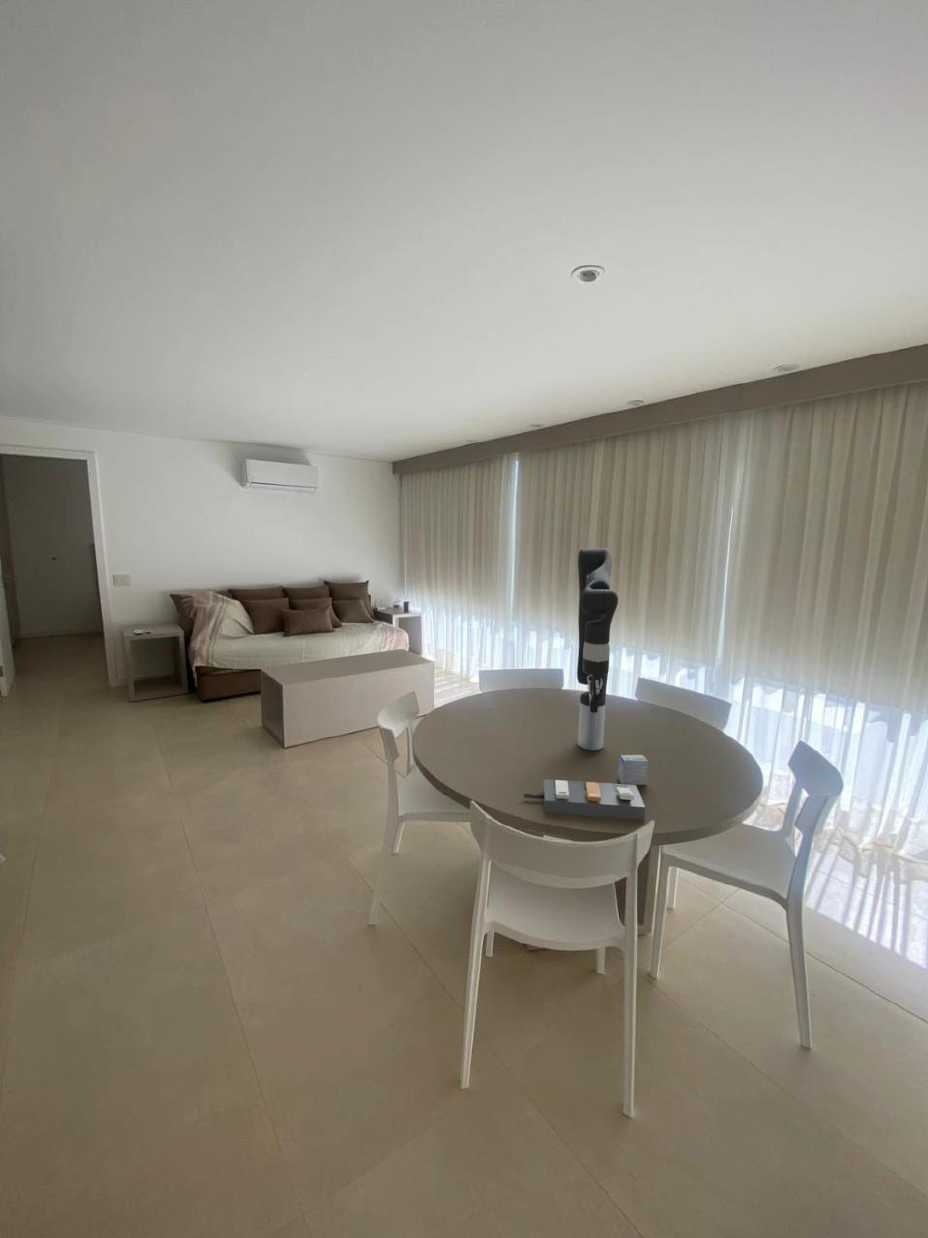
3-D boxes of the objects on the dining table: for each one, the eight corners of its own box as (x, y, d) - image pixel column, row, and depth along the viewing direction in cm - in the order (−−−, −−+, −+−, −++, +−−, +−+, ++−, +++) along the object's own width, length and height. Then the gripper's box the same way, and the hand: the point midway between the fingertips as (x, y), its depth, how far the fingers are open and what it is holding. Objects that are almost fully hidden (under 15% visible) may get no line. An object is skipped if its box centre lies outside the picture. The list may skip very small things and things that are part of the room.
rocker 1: (555, 783, 145) (555, 779, 144) (567, 784, 144) (567, 780, 144) (556, 798, 139) (556, 794, 139) (568, 799, 139) (569, 795, 138)
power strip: (524, 789, 152) (524, 776, 151) (634, 797, 148) (635, 783, 147) (523, 811, 140) (524, 796, 140) (644, 820, 136) (645, 805, 135)
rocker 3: (616, 792, 142) (616, 787, 142) (629, 792, 142) (629, 787, 142) (620, 799, 136) (620, 793, 136) (633, 800, 136) (633, 794, 136)
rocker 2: (585, 785, 143) (585, 781, 143) (597, 786, 143) (598, 782, 142) (587, 800, 138) (588, 796, 137) (600, 801, 138) (601, 797, 137)
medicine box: (641, 778, 159) (643, 754, 157) (646, 785, 154) (648, 760, 153) (617, 779, 159) (619, 754, 157) (622, 786, 154) (624, 761, 153)
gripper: (580, 650, 148) (578, 703, 152) (585, 662, 135) (583, 720, 139) (605, 650, 147) (602, 703, 151) (613, 663, 134) (610, 721, 138)
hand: (593, 711), depth 145 cm, fingers closed
